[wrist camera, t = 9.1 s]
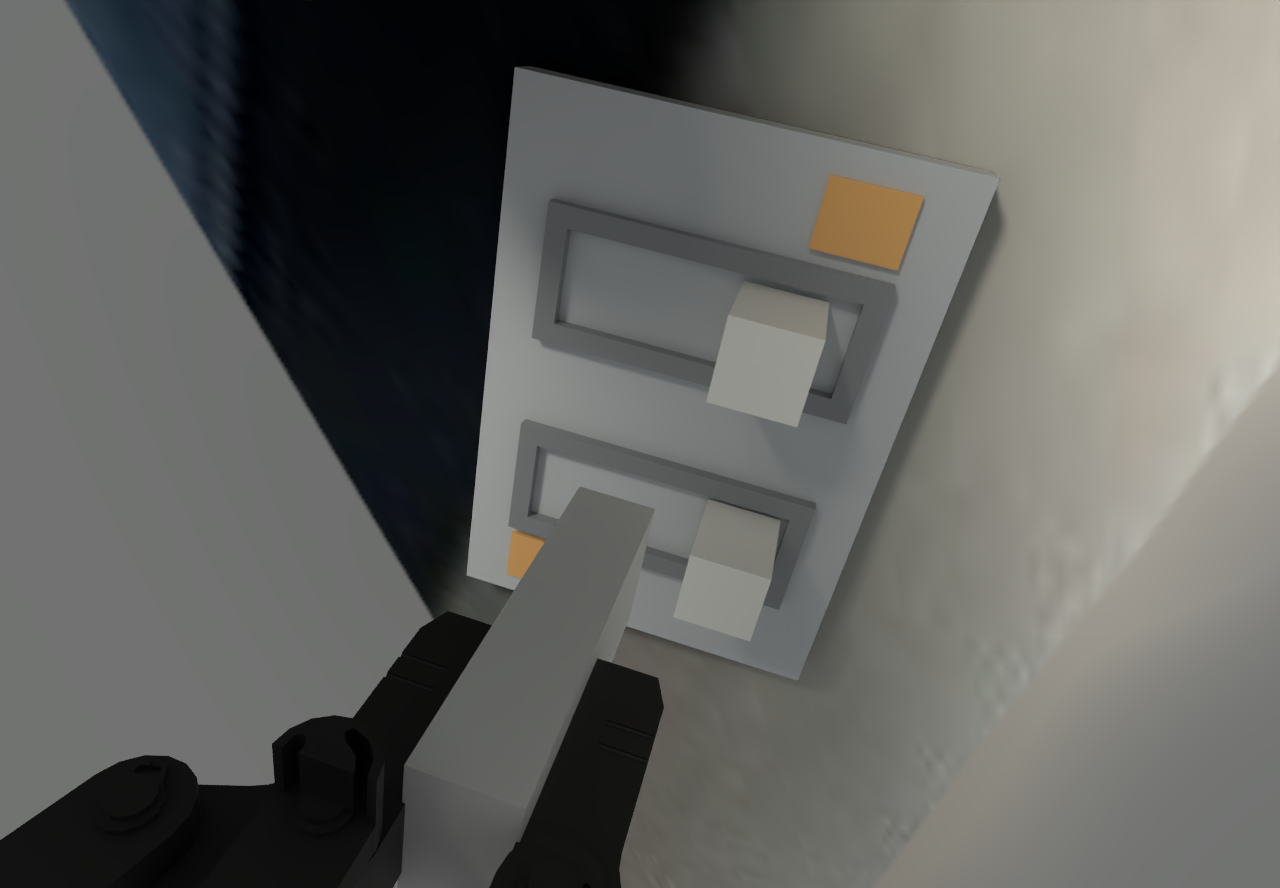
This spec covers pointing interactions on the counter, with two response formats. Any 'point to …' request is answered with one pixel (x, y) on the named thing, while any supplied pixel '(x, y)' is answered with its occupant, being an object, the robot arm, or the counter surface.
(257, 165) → the counter surface
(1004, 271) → the counter surface
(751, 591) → the tab
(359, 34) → the counter surface
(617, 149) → the switch plate
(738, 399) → the tab
